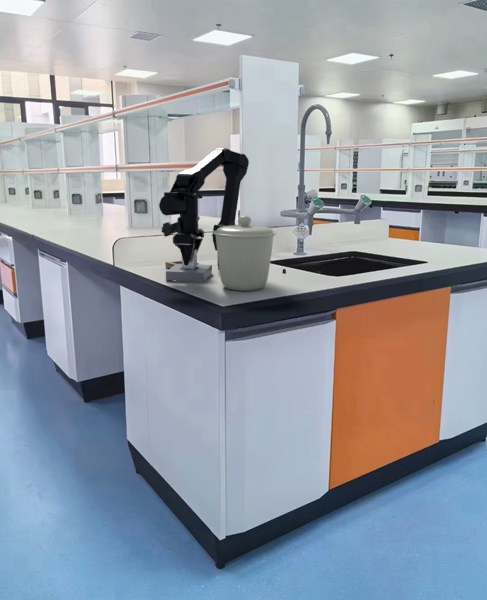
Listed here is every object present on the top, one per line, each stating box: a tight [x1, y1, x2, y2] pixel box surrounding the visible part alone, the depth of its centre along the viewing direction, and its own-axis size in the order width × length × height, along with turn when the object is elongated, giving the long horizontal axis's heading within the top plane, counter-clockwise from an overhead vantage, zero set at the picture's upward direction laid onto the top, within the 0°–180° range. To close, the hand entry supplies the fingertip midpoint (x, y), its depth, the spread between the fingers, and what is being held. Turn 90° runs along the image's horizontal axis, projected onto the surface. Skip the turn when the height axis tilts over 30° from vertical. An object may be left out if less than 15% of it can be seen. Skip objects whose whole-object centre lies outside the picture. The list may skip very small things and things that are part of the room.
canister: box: [212, 215, 277, 292], centre depth 153 cm, size 18×18×21 cm
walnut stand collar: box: [164, 259, 200, 269], centre depth 184 cm, size 8×8×2 cm
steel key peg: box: [181, 249, 198, 270], centre depth 168 cm, size 4×4×9 cm
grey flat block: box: [165, 264, 213, 283], centre depth 169 cm, size 12×14×3 cm
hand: (189, 262), depth 168 cm, fingers open, 9 cm apart
